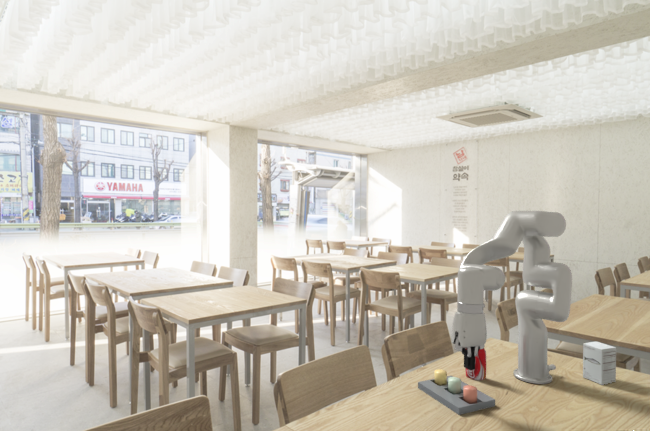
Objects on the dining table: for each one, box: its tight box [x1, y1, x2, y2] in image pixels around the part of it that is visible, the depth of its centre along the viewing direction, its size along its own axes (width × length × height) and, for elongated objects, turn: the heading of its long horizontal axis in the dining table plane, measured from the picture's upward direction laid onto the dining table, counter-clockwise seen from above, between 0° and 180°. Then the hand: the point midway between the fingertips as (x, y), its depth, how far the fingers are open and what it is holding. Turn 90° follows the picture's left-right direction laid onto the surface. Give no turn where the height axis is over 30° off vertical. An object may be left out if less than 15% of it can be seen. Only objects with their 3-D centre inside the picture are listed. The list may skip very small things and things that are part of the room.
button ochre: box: [433, 368, 448, 386], centre depth 139 cm, size 4×4×4 cm
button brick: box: [463, 384, 478, 404], centre depth 126 cm, size 4×4×4 cm
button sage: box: [448, 376, 462, 394], centre depth 132 cm, size 4×4×4 cm
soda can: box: [464, 347, 487, 381], centre depth 149 cm, size 7×7×12 cm
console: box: [417, 375, 496, 416], centre depth 132 cm, size 14×20×3 cm
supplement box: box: [582, 341, 617, 386], centre depth 147 cm, size 7×7×13 cm
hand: (469, 368), depth 125 cm, fingers closed
